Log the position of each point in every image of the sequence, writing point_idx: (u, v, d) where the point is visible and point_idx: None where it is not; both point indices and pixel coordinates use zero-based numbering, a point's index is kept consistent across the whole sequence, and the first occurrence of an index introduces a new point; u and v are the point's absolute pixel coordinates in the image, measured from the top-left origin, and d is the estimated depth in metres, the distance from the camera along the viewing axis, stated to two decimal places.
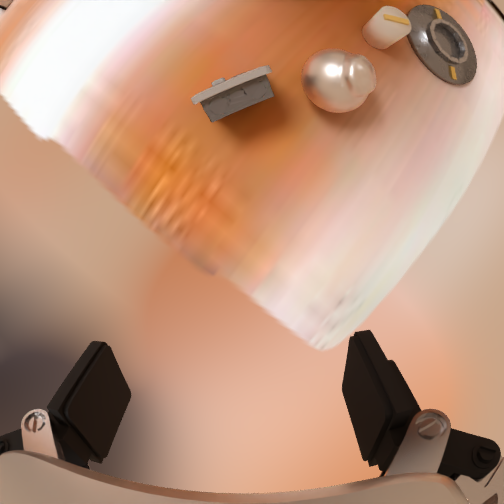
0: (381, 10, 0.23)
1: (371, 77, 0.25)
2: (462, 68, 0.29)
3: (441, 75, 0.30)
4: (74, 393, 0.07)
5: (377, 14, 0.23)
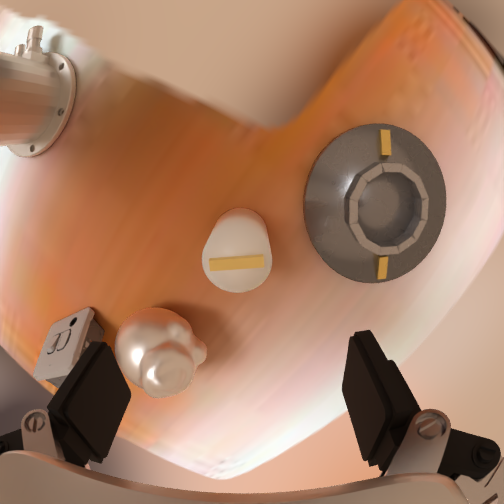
0: (207, 247, 0.20)
1: (176, 387, 0.22)
2: (407, 248, 0.26)
3: (355, 278, 0.27)
4: (74, 393, 0.07)
5: None
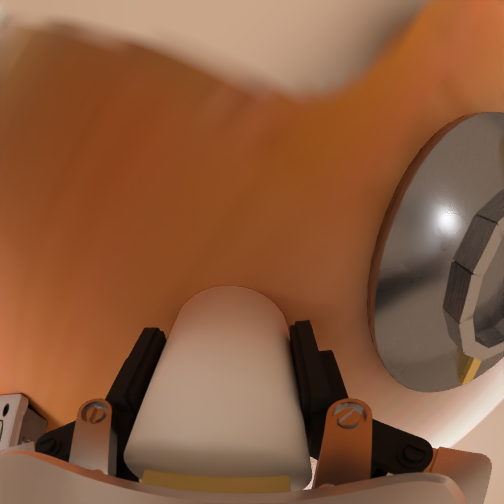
0: (132, 454, 0.05)
1: None
2: None
3: (431, 389, 0.12)
4: (136, 378, 0.08)
5: None
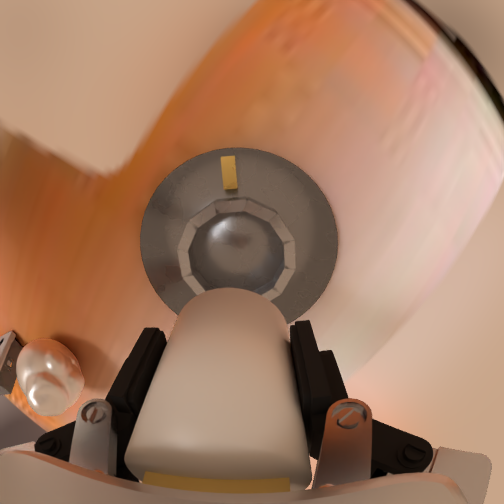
0: (133, 457, 0.05)
1: (51, 410, 0.19)
2: (278, 299, 0.23)
3: None
4: (136, 378, 0.08)
5: None
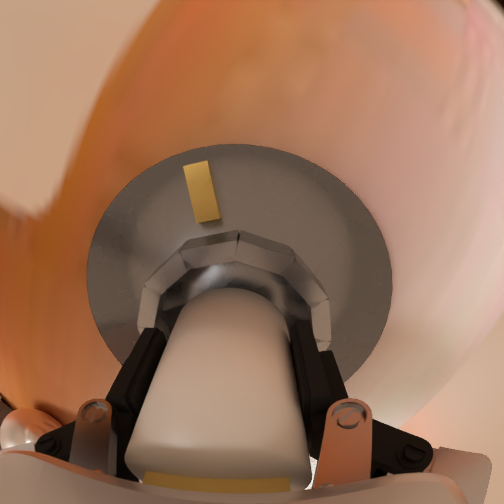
0: (133, 456, 0.05)
1: None
2: None
3: None
4: (136, 378, 0.08)
5: None
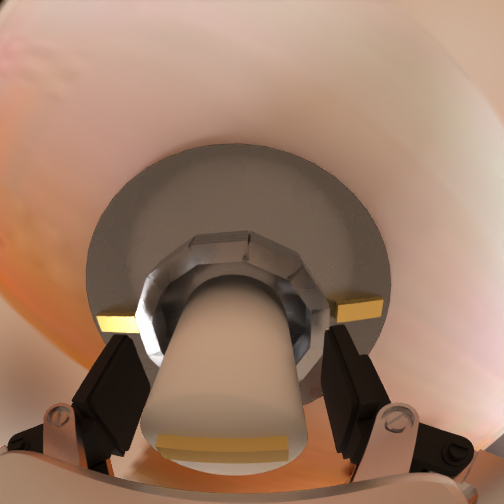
0: (148, 418, 0.06)
1: None
2: (327, 253, 0.12)
3: (368, 348, 0.14)
4: (99, 385, 0.07)
5: None
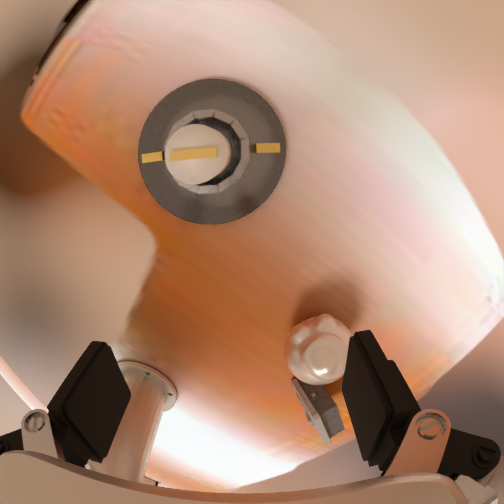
0: (170, 142, 0.21)
1: (335, 357, 0.27)
2: (250, 120, 0.27)
3: (278, 174, 0.29)
4: (74, 393, 0.07)
5: None
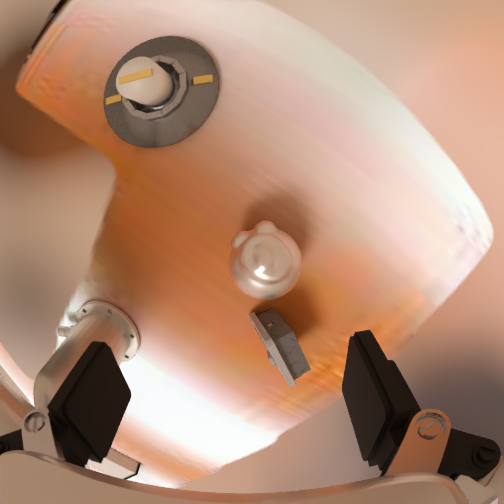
0: (120, 72, 0.23)
1: (271, 252, 0.29)
2: (188, 61, 0.29)
3: (213, 99, 0.31)
4: (74, 393, 0.07)
5: None
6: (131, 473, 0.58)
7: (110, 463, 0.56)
